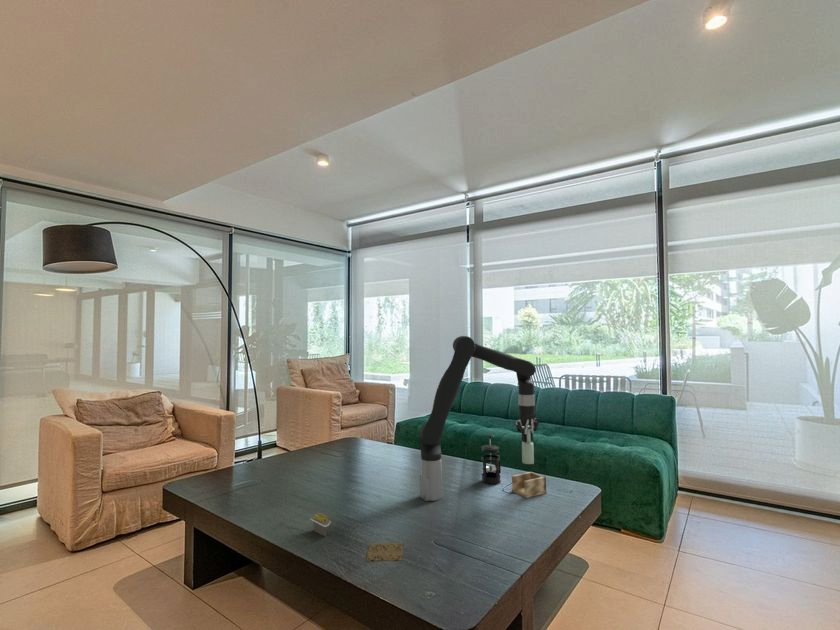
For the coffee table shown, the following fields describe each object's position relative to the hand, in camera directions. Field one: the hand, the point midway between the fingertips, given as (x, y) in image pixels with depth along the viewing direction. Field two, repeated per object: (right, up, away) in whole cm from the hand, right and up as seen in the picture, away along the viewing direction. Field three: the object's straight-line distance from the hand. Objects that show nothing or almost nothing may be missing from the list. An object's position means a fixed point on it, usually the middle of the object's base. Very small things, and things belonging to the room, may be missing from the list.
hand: (527, 441), depth 196 cm
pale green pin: (0, -10, -1) cm, 10 cm away
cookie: (-62, -22, -54) cm, 84 cm away
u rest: (0, -23, -1) cm, 23 cm away
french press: (-14, -24, +14) cm, 31 cm away
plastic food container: (-87, -23, -39) cm, 98 cm away
